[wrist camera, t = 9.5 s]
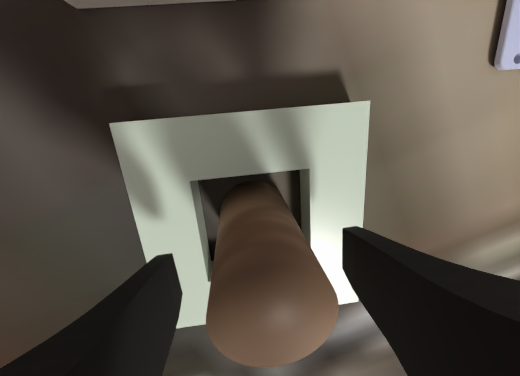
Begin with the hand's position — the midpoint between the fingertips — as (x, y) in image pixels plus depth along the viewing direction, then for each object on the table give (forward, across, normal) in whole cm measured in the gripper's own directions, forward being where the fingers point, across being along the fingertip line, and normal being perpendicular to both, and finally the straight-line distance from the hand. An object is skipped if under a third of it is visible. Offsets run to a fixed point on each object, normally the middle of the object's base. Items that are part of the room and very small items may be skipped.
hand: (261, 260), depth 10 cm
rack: (+5, 0, 0) cm, 5 cm away
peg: (+5, 0, 0) cm, 5 cm away
